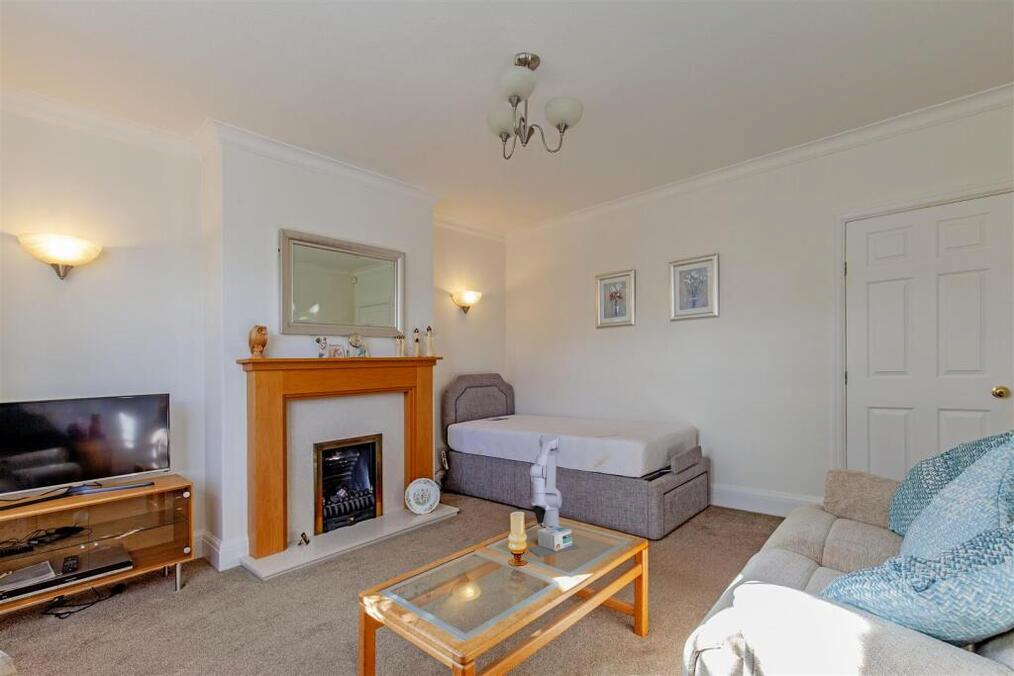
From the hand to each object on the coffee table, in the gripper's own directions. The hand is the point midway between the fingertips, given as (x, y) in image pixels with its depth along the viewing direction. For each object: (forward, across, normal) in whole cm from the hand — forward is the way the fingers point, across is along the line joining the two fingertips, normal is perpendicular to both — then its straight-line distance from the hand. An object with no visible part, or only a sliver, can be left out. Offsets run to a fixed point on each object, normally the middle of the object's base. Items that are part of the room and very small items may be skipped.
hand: (540, 522), depth 217 cm
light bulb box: (+4, +4, +1) cm, 6 cm away
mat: (+8, +11, 0) cm, 14 cm away
